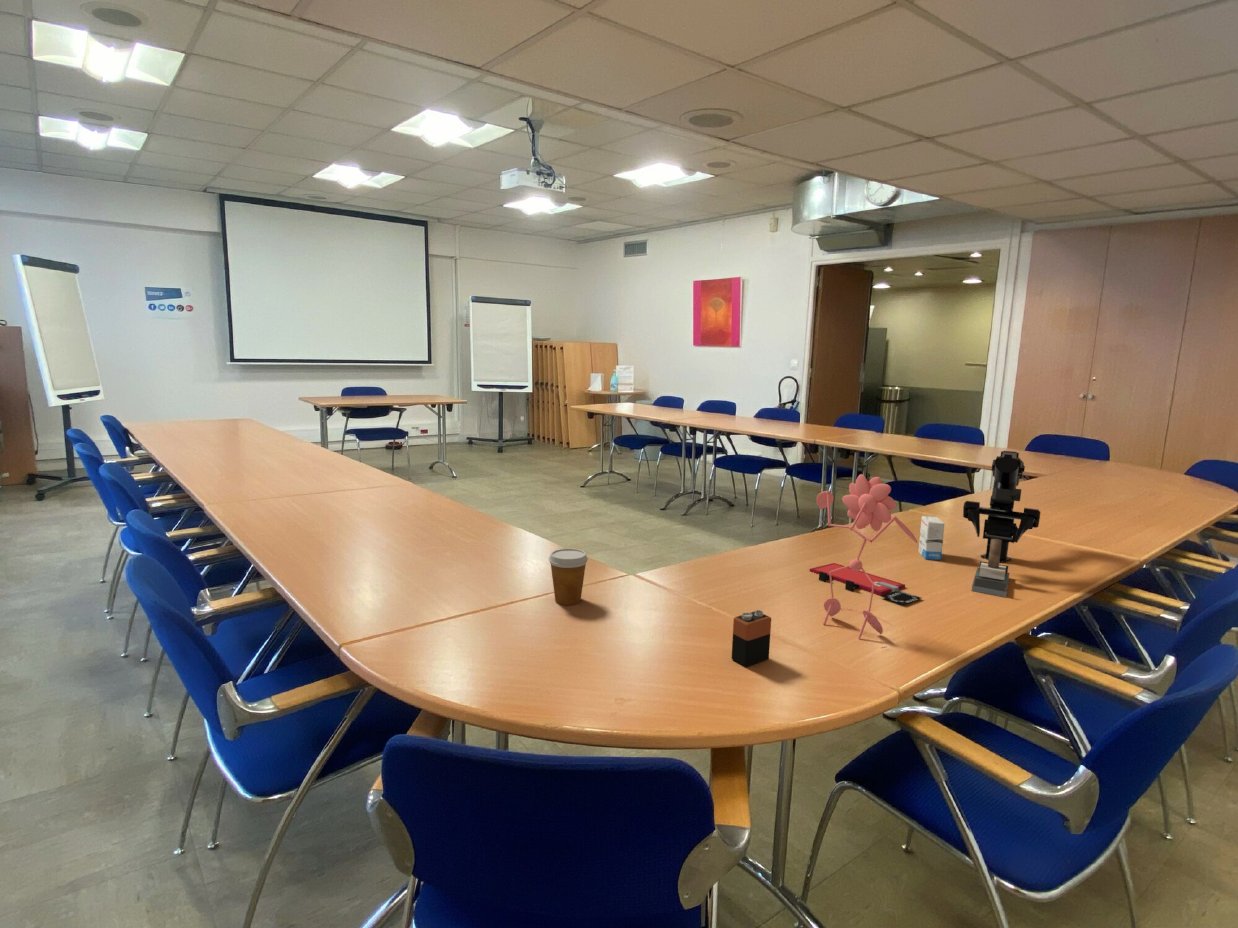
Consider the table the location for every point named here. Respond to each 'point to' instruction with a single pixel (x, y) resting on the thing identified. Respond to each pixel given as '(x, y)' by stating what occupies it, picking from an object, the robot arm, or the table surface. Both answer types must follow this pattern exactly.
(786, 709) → the table surface
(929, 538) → the ink box
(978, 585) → the rail
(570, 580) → the disposable coffee cup
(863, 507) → the figurine
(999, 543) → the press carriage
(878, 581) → the red board with handle
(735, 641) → the battery
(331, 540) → the table surface
